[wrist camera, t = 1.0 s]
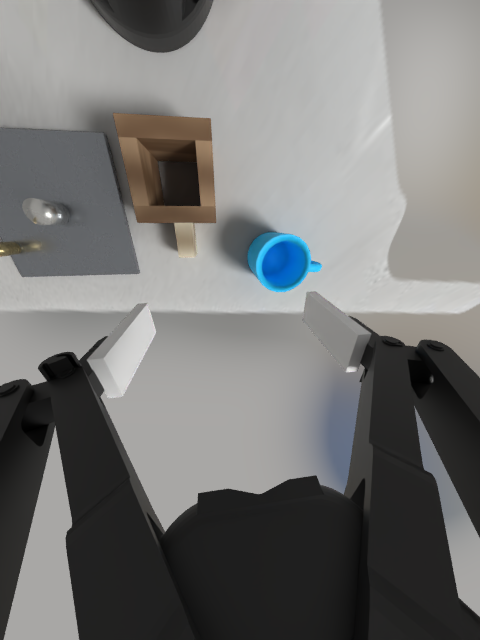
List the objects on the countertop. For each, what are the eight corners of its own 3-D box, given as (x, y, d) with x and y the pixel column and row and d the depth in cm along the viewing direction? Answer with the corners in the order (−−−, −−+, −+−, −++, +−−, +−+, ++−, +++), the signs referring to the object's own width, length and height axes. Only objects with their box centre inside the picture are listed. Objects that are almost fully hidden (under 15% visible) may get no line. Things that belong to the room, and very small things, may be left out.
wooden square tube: (141, 144, 25) (112, 113, 18) (212, 147, 26) (210, 118, 19) (161, 254, 32) (146, 262, 25) (217, 253, 33) (218, 261, 26)
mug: (243, 275, 35) (251, 289, 28) (251, 228, 32) (262, 229, 24) (302, 283, 37) (323, 297, 30) (316, 239, 34) (343, 243, 26)
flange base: (-51, 128, 23) (-107, 108, 19) (106, 135, 25) (85, 118, 21) (26, 275, 31) (-1, 283, 27) (140, 272, 33) (129, 279, 29)
